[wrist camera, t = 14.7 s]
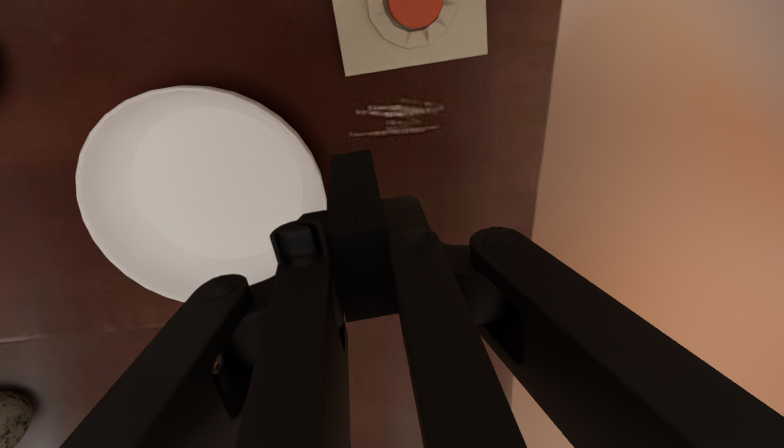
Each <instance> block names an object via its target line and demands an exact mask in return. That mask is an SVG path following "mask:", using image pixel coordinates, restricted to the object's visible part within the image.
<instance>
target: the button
mask: <svg viewBox="0 0 784 448" xmlns="http://www.w3.org/2000/svg"><path fill="white" fill-rule="evenodd" d="M386 3H387V7H388V10H389V12H390V14H391V16H392V17H393V18H394V20H395V21H397V22H398V23H399V24H401V25H403V26H406V27H409V28H422V27H425V26H427V25H429V24H430V23H432V22H433V21H434V20H435V19H436V17H437V16H438V15H439V13H440V11H441V8H442V5H443V0H386Z"/></svg>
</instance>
